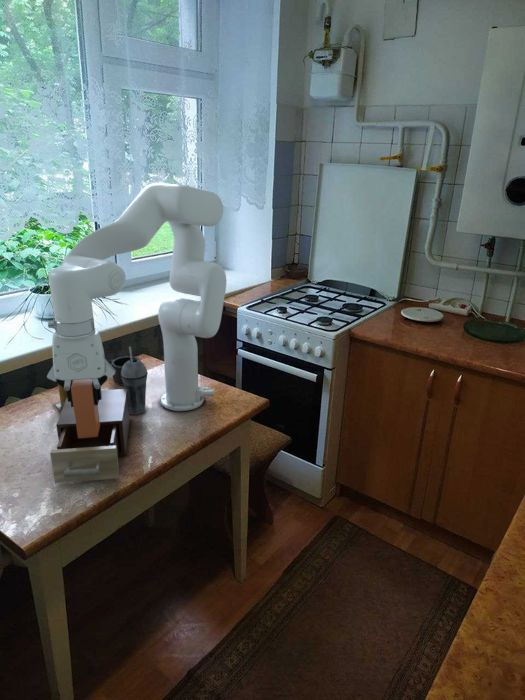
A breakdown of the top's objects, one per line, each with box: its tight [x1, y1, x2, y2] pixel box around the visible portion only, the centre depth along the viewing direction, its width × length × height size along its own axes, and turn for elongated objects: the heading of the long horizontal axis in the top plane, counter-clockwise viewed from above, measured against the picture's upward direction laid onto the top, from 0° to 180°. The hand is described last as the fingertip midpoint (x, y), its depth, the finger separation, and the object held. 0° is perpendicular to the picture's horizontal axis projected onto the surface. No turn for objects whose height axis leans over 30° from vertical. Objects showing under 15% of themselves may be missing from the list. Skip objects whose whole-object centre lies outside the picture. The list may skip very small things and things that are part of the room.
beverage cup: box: [121, 346, 148, 415], centre depth 137 cm, size 7×7×20 cm
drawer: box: [49, 424, 120, 484], centre depth 113 cm, size 20×14×8 cm
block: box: [71, 379, 100, 438], centre depth 110 cm, size 4×5×13 cm
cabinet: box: [55, 388, 131, 457], centre depth 125 cm, size 17×15×10 cm
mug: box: [107, 355, 142, 386], centre depth 157 cm, size 12×9×7 cm
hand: (85, 402), depth 110 cm, fingers closed on block, 4 cm apart
